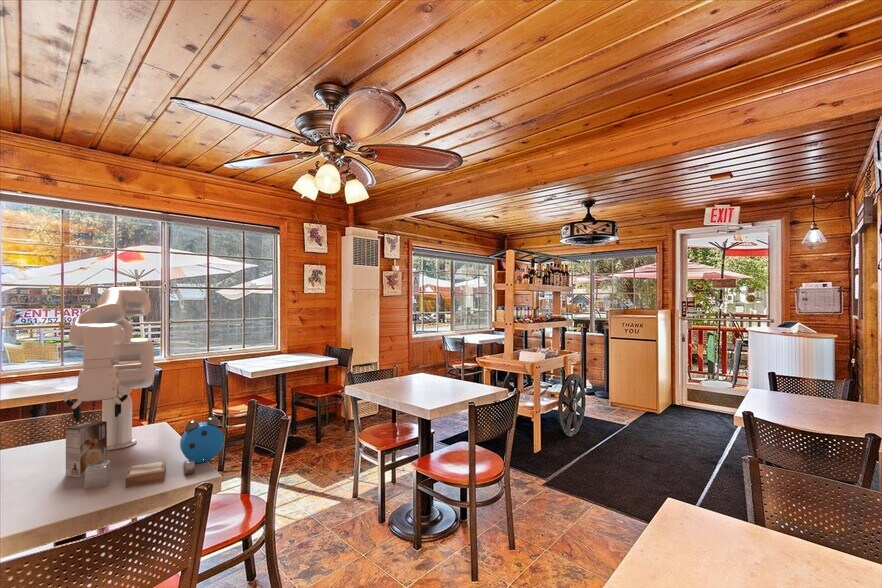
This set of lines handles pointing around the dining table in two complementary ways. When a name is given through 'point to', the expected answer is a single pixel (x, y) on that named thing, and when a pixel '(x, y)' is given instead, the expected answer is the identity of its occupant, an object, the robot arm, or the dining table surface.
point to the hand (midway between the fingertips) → (97, 418)
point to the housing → (97, 474)
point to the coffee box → (85, 446)
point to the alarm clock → (202, 440)
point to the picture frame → (145, 474)
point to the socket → (189, 467)
